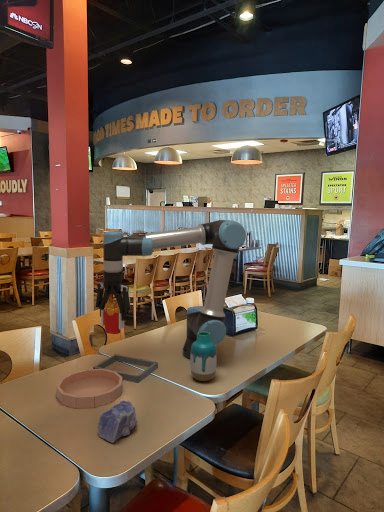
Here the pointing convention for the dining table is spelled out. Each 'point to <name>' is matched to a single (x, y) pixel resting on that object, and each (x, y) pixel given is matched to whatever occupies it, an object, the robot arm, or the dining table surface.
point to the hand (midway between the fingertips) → (112, 326)
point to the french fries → (112, 318)
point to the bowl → (89, 388)
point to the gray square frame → (126, 376)
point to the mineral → (117, 421)
